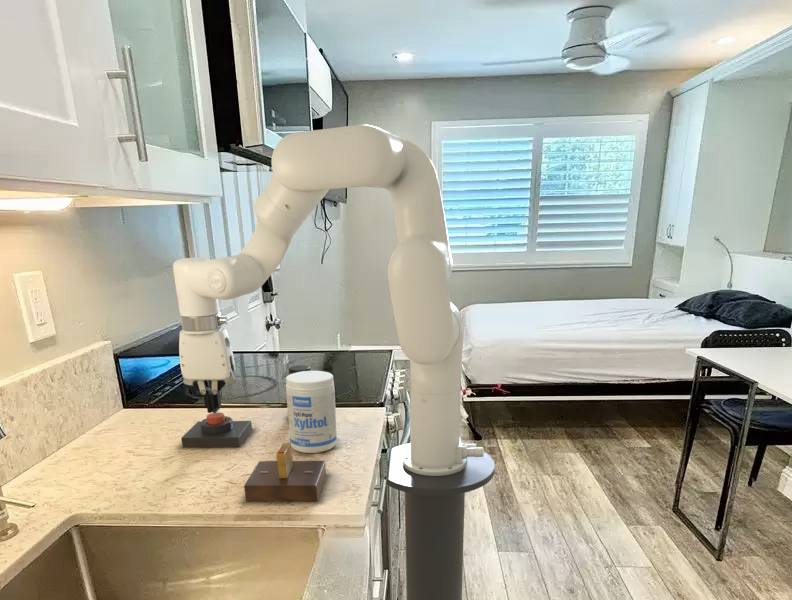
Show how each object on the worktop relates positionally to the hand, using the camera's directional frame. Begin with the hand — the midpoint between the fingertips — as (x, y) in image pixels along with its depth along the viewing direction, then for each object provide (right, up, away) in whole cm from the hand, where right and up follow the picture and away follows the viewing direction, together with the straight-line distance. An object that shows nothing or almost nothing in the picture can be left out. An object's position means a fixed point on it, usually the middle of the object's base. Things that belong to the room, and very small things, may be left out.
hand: (213, 410), depth 120 cm
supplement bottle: (+17, -1, +14) cm, 22 cm away
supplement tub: (+22, -8, -3) cm, 23 cm away
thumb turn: (+19, -12, -22) cm, 32 cm away
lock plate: (+19, -15, -21) cm, 32 cm away
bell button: (0, -3, +1) cm, 3 cm away
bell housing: (0, -6, +2) cm, 6 cm away
